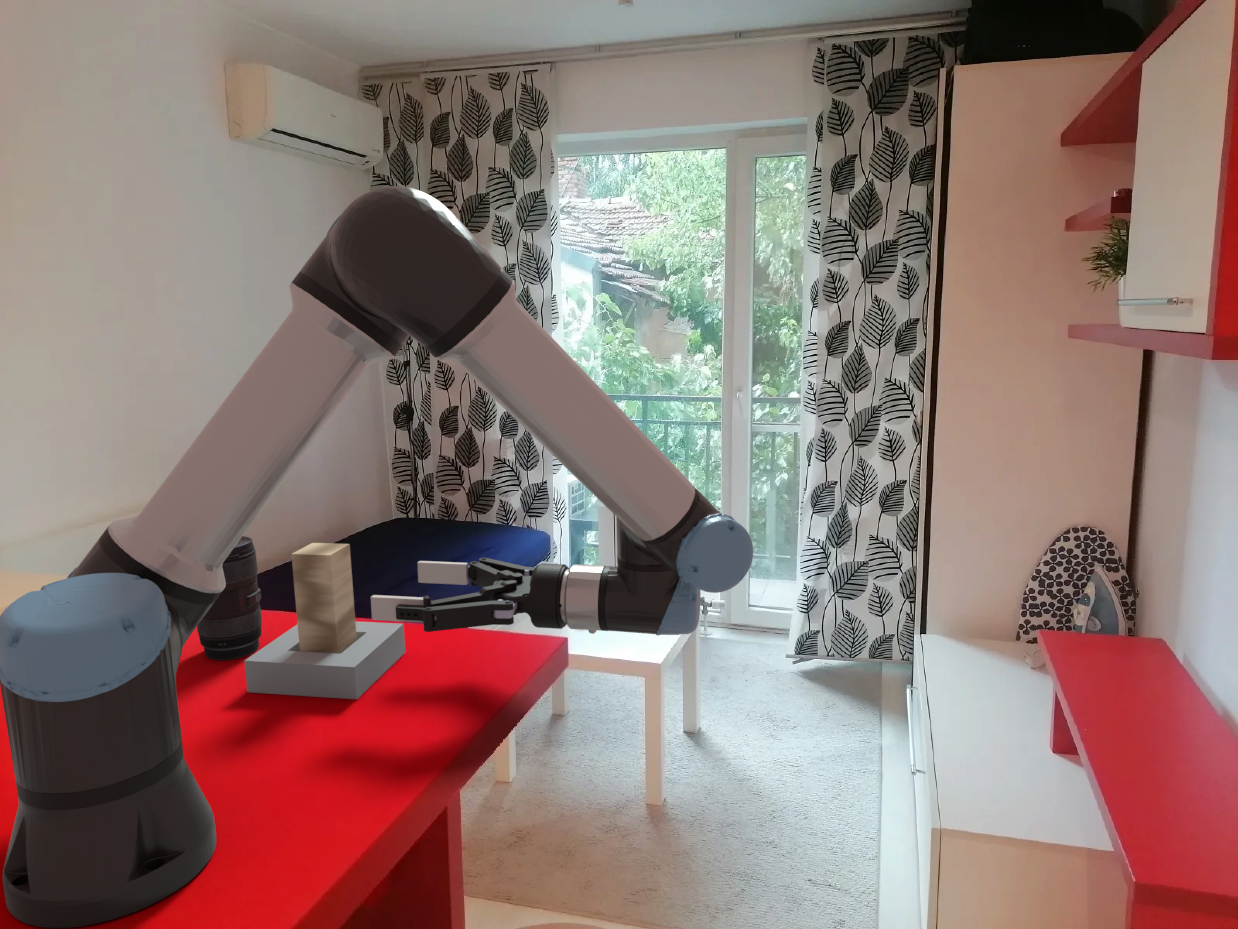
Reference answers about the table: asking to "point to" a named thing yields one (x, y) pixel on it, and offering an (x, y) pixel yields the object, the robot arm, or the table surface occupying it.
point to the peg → (324, 597)
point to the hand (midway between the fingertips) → (396, 588)
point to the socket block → (325, 664)
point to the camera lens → (234, 608)
